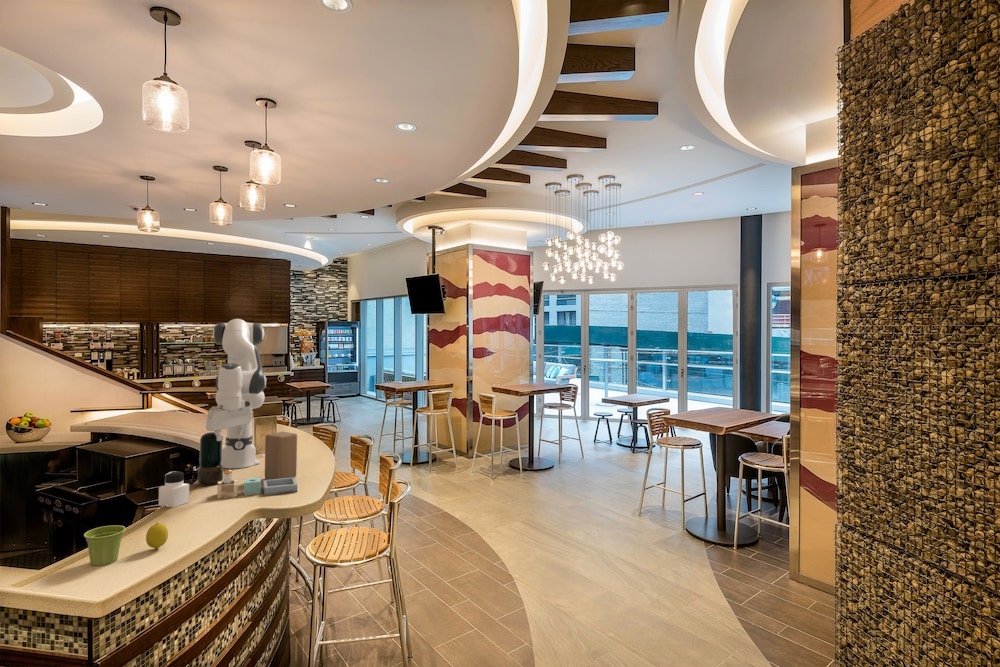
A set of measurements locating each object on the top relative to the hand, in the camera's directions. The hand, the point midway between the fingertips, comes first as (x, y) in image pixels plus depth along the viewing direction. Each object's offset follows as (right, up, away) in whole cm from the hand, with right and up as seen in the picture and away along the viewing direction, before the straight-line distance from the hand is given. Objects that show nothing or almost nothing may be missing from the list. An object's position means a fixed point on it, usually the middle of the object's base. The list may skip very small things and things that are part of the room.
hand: (229, 438), depth 209 cm
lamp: (-17, -23, +16) cm, 33 cm away
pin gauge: (-1, -23, 0) cm, 23 cm away
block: (+10, -23, +26) cm, 36 cm away
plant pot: (-3, -23, -62) cm, 66 cm away
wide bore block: (-1, -23, 0) cm, 23 cm away
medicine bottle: (-15, -23, -12) cm, 30 cm away
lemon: (+6, -23, -53) cm, 58 cm away
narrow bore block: (+7, -23, +4) cm, 24 cm away
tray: (+17, -23, +9) cm, 30 cm away
